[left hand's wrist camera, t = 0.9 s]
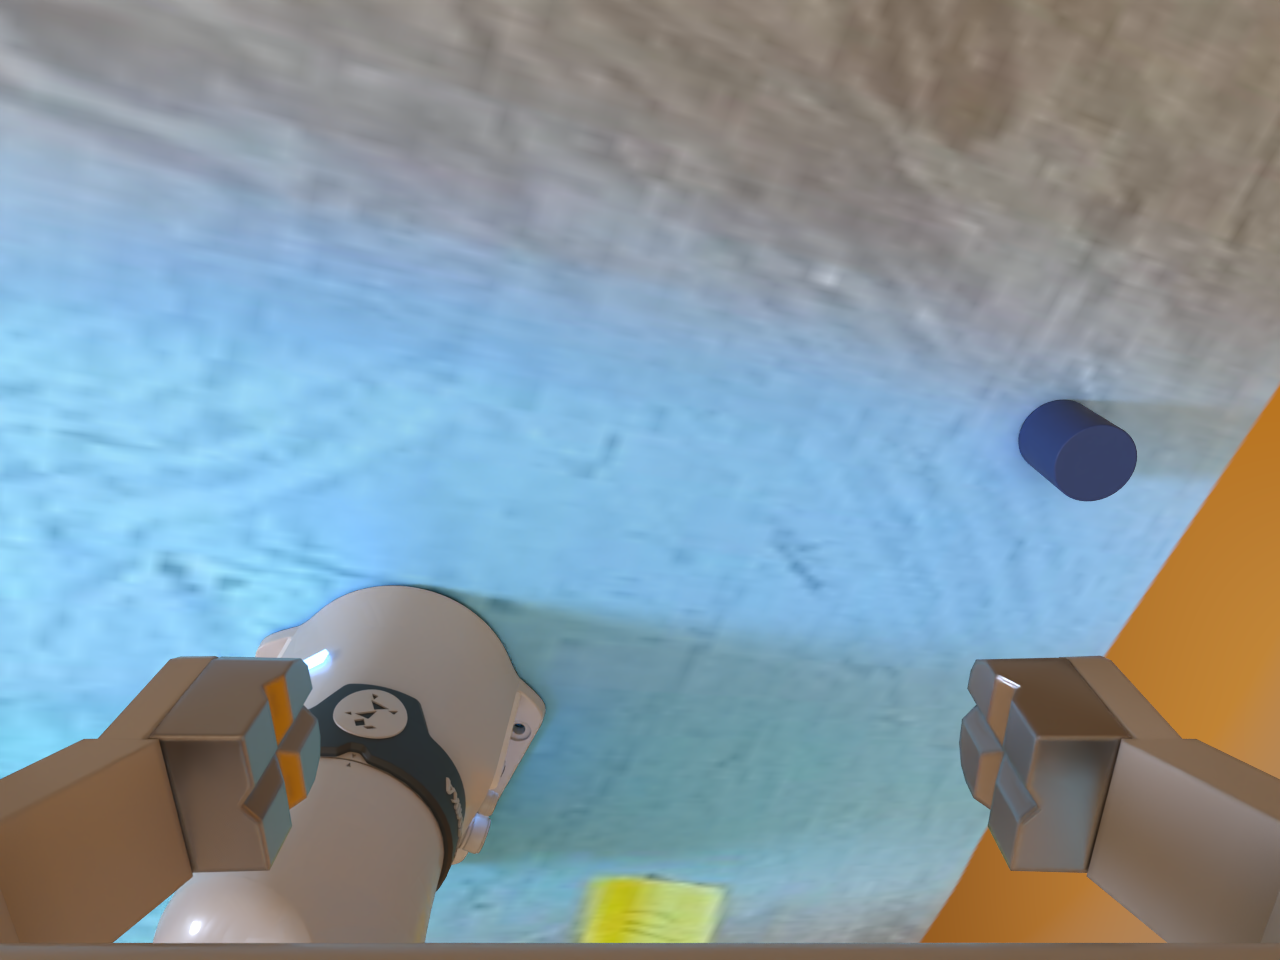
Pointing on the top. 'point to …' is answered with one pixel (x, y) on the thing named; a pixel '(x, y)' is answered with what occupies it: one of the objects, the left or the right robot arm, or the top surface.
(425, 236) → the top surface
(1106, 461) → the can
